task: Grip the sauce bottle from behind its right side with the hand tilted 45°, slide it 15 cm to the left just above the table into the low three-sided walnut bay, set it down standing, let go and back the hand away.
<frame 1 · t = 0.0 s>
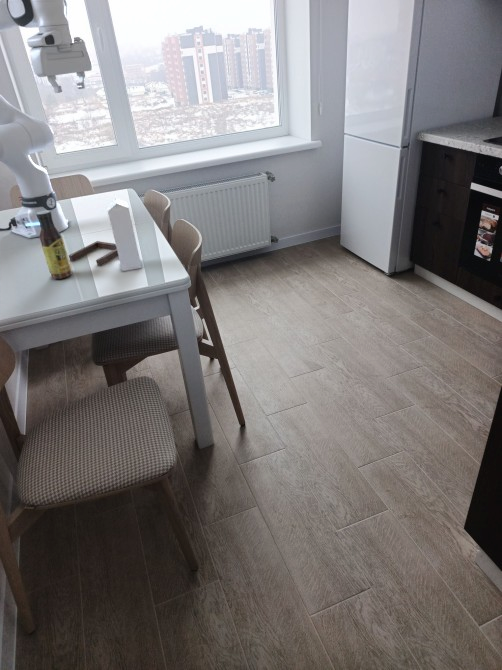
hand: (70, 90, 147), 48 cm above the table, tool pointing down, fingers open, 8 cm apart
sauce bottle: (62, 276, 146), on the table
bottle bay: (98, 256, 158), on the table
milk: (131, 266, 148), on the table
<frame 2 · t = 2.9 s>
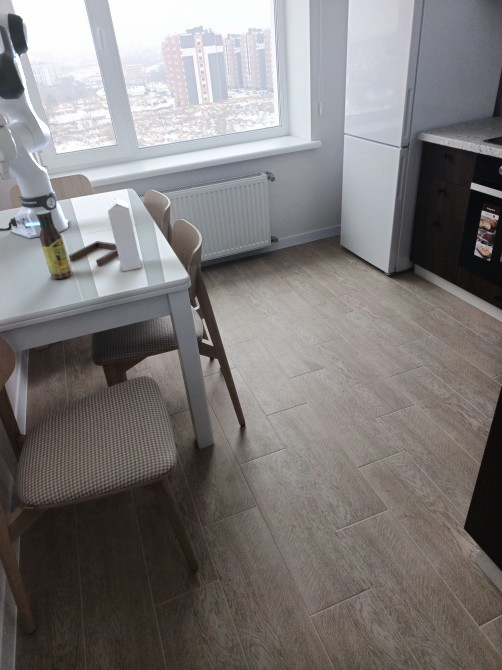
nothing on the table moved.
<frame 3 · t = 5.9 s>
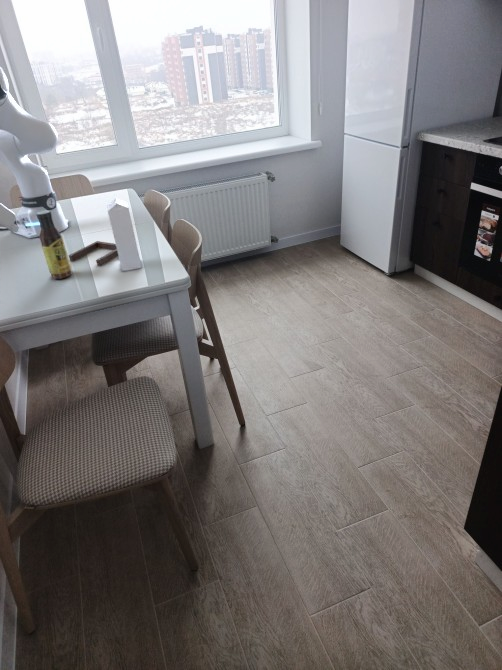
hand: (4, 227, 126), 20 cm above the table, tool tilted 40°, fingers open, 8 cm apart
nothing on the table moved.
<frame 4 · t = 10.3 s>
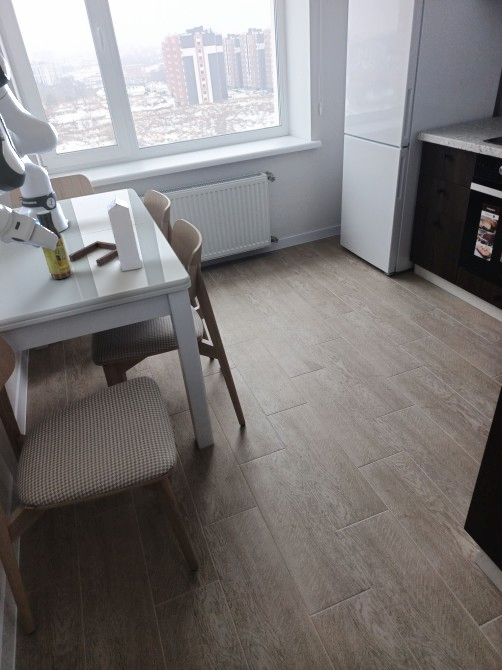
hand: (46, 246, 139), 10 cm above the table, tool tilted 45°, fingers closed on sauce bottle, 5 cm apart
sauce bottle: (62, 276, 146), on the table, touching gripper
everything else where it was.
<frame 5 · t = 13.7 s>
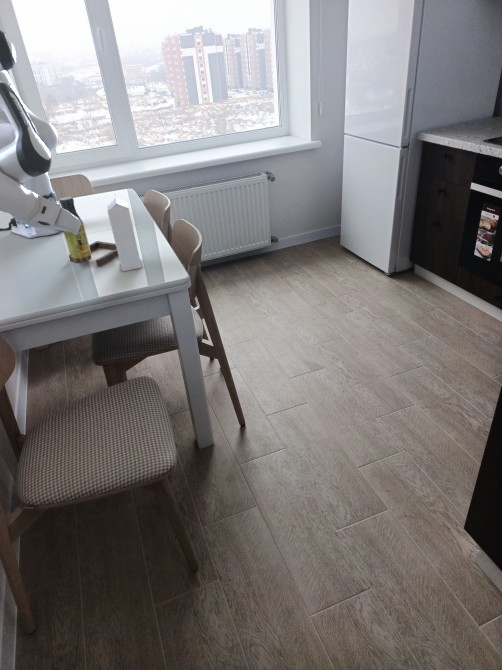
hand: (68, 231, 145), 12 cm above the table, tool tilted 45°, fingers closed on sauce bottle, 5 cm apart
sauce bottle: (83, 260, 152), point 1 cm above the table, touching gripper
everything else where it was.
when the fingers open (10 cm above the table, at t = 17.0 s): sauce bottle stays where it is, on the table.
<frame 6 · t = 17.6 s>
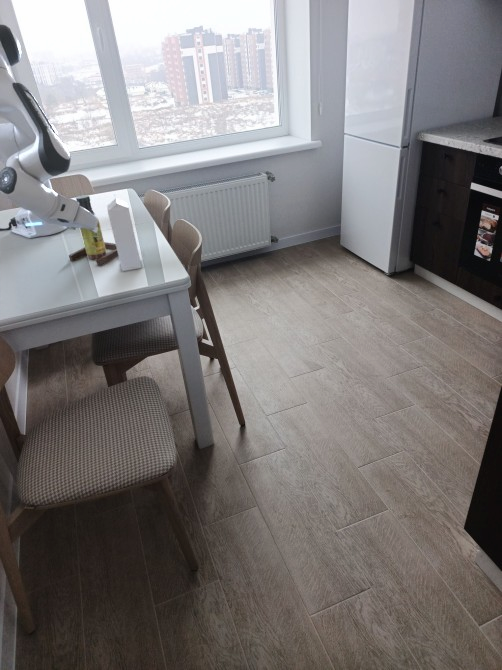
hand: (85, 229, 151), 10 cm above the table, tool tilted 45°, fingers open, 8 cm apart
sauce bottle: (98, 257, 158), on the table
everything else where it was.
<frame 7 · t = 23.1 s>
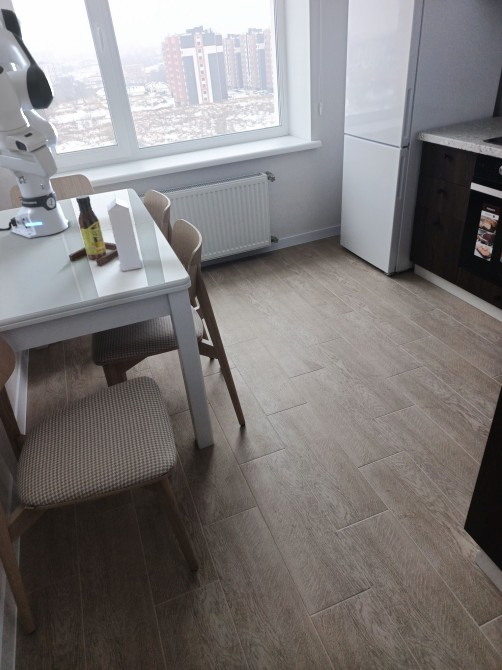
hand: (35, 186, 134), 27 cm above the table, tool pointing down, fingers open, 8 cm apart
nothing on the table moved.
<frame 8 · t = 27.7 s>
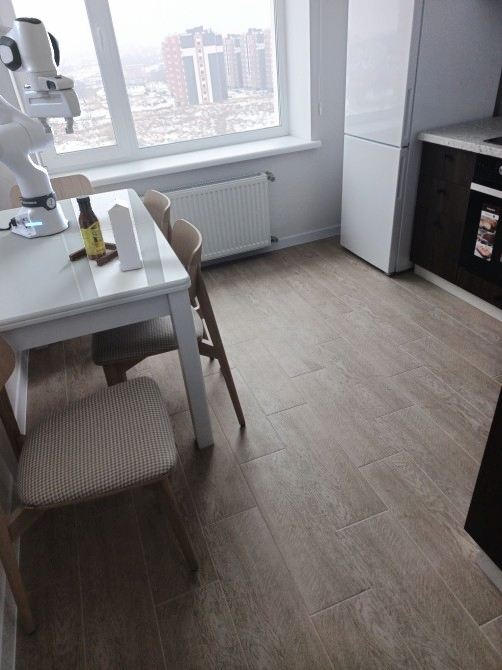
hand: (59, 133, 147), 37 cm above the table, tool pointing down, fingers open, 8 cm apart
nothing on the table moved.
at the end: sauce bottle inside the target area on the bottle bay (0.8 cm from its centre), point 0.0 cm above the bottle bay's base; sauce bottle tilted 0°; the gripper is holding nothing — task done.
